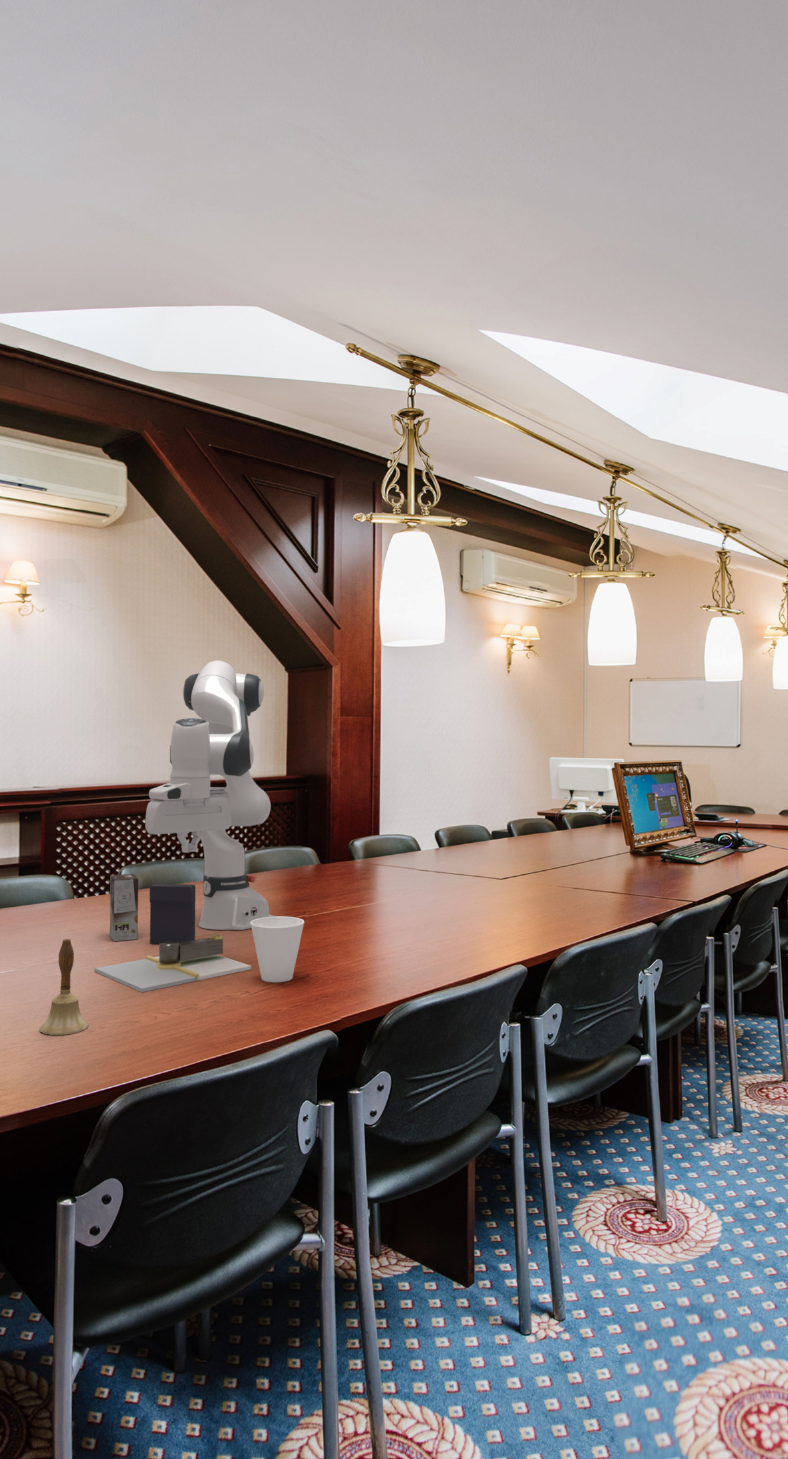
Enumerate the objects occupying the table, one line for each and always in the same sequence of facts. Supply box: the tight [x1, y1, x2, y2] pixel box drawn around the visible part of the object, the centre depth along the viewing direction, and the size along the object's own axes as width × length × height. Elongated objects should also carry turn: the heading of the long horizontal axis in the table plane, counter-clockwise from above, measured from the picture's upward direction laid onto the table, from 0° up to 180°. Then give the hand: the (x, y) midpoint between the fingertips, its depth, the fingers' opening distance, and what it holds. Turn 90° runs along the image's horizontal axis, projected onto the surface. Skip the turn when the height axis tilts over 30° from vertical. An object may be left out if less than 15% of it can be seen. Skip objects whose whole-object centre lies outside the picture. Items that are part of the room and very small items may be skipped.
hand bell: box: [39, 938, 90, 1036], centre depth 157 cm, size 8×8×16 cm
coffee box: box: [109, 873, 139, 942], centre depth 230 cm, size 9×6×16 cm
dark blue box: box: [149, 883, 196, 945], centre depth 223 cm, size 11×4×15 cm, turn 84°
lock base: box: [94, 954, 252, 993], centre depth 196 cm, size 27×22×4 cm
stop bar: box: [158, 933, 224, 964], centre depth 200 cm, size 15×4×4 cm, turn 131°
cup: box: [250, 915, 305, 983], centre depth 191 cm, size 12×12×12 cm
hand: (189, 851), depth 195 cm, fingers closed
